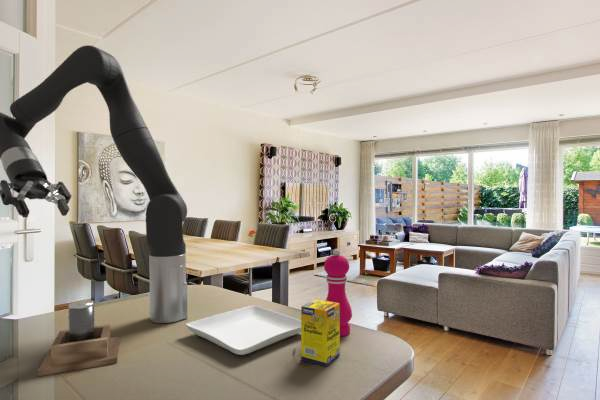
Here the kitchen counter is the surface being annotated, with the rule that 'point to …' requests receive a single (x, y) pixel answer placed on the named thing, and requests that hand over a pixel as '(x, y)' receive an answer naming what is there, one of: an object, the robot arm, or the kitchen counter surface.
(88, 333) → the dark grey piece
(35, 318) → the kitchen counter surface
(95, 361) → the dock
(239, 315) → the salad plate
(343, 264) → the pepper mill
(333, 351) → the supplement box
